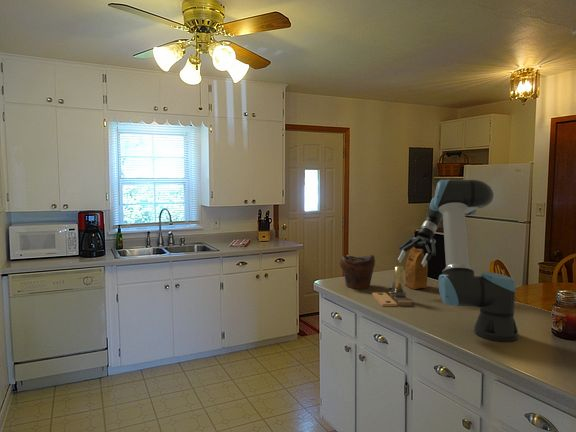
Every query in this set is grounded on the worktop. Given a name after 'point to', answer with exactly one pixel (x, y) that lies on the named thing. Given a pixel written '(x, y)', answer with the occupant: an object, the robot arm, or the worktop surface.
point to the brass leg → (398, 282)
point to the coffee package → (416, 270)
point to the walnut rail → (399, 298)
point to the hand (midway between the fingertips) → (410, 263)
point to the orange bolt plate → (384, 299)
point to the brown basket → (358, 270)
